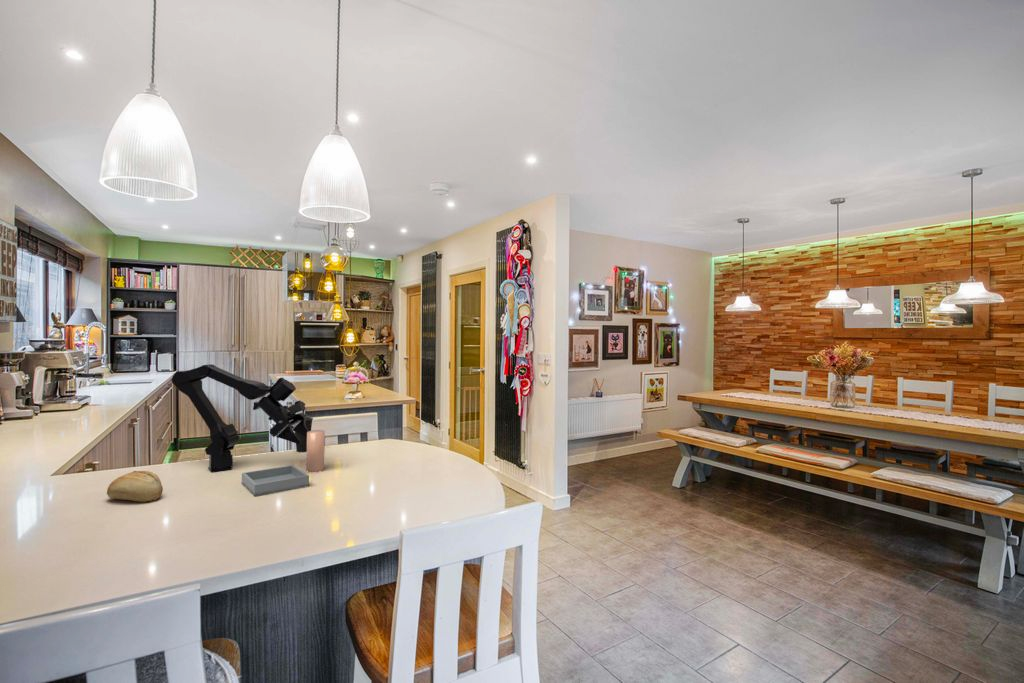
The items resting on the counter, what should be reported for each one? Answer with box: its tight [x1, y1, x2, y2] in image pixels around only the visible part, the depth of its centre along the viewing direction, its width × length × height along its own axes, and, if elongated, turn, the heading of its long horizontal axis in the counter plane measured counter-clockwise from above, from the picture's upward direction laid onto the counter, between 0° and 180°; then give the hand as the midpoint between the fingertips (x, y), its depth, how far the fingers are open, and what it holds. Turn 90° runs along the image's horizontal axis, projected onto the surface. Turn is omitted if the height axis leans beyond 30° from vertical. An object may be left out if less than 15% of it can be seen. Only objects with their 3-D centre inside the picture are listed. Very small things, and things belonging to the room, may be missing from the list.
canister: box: [305, 429, 326, 473], centre depth 172 cm, size 6×6×14 cm
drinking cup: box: [294, 410, 314, 453], centre depth 199 cm, size 8×8×20 cm
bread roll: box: [106, 470, 164, 503], centre depth 139 cm, size 10×15×8 cm, turn 88°
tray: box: [241, 464, 310, 497], centre depth 154 cm, size 16×16×4 cm
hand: (305, 440), depth 172 cm, fingers open, 9 cm apart
